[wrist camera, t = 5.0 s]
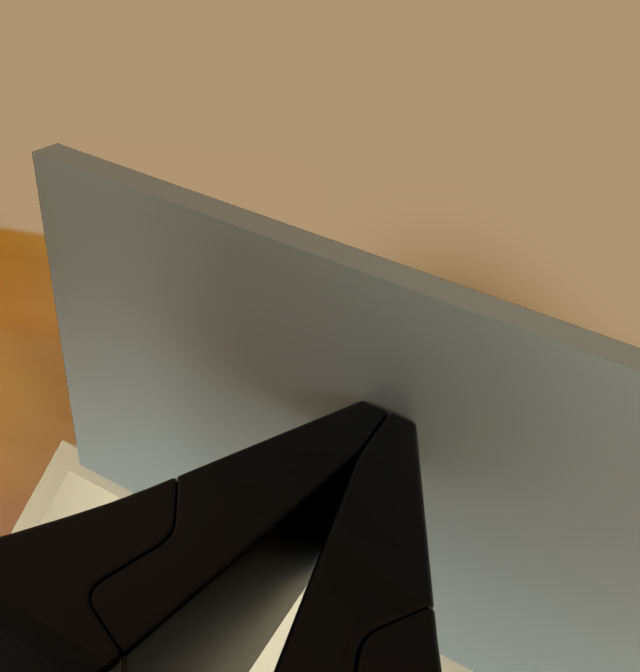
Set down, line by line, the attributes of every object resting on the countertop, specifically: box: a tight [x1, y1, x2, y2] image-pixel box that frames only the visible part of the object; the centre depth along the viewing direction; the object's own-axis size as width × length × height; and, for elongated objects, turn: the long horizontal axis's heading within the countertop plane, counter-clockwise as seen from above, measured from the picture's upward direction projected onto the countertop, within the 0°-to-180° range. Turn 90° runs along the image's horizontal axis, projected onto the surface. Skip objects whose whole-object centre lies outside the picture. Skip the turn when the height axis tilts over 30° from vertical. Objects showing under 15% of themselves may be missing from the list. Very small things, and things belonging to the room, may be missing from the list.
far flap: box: [32, 143, 640, 672], centre depth 10 cm, size 7×12×1 cm
